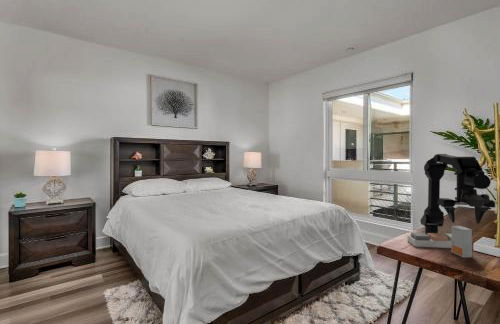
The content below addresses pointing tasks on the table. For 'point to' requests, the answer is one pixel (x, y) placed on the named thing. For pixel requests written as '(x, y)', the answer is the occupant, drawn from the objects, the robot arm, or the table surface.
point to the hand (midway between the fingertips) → (465, 222)
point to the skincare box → (461, 241)
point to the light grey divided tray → (429, 243)
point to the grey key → (420, 236)
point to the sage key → (448, 236)
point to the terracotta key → (437, 237)
